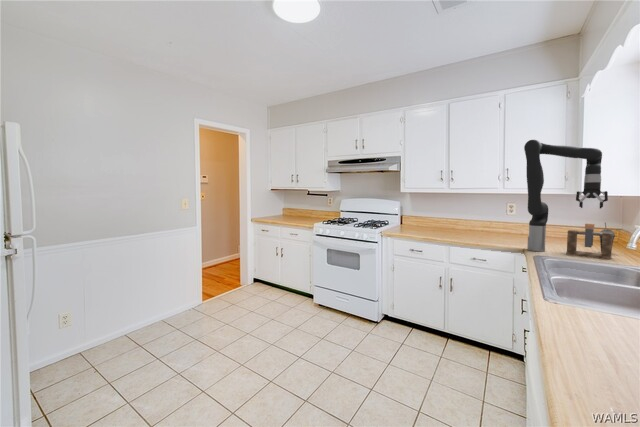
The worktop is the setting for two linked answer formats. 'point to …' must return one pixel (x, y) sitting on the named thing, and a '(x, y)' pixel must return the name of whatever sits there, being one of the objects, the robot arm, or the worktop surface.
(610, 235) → the hook stand
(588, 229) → the peach and grey blocks
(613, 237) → the beverage cup
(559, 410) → the worktop surface
